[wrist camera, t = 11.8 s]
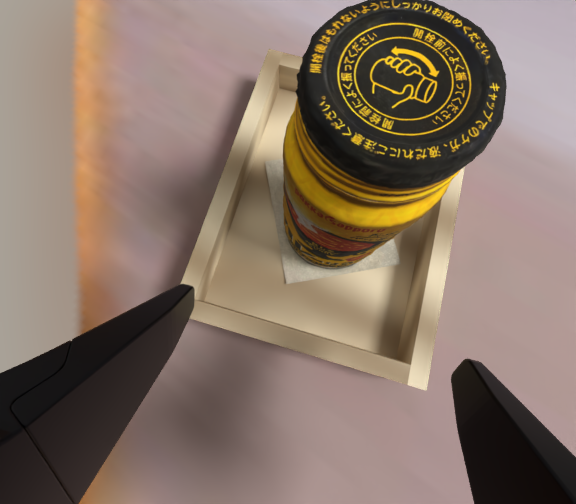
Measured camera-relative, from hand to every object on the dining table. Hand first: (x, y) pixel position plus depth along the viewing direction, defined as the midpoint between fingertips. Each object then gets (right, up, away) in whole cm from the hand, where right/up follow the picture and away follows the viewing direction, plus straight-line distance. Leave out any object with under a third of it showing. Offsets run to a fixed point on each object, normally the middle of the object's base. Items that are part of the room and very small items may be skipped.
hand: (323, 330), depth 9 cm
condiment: (+2, +5, +10) cm, 11 cm away
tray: (+2, +5, +10) cm, 12 cm away
